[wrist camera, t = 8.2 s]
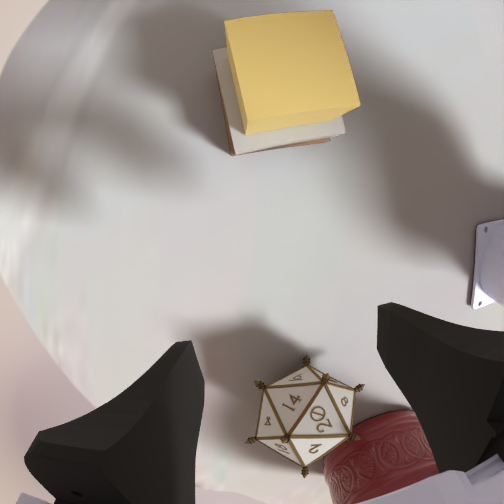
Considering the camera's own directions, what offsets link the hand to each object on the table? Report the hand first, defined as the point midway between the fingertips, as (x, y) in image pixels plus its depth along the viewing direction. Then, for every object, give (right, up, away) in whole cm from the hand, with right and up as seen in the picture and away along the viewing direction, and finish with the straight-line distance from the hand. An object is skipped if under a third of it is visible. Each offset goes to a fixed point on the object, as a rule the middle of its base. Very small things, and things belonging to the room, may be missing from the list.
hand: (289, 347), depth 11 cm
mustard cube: (0, +12, +3) cm, 12 cm away
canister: (+13, -18, +17) cm, 28 cm away
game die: (+2, -7, +13) cm, 15 cm away
